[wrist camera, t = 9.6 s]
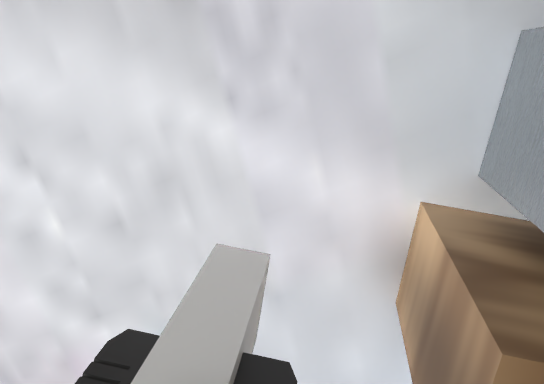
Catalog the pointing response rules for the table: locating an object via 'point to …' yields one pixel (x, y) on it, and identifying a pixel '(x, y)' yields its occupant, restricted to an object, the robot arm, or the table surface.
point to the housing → (520, 132)
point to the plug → (473, 299)
